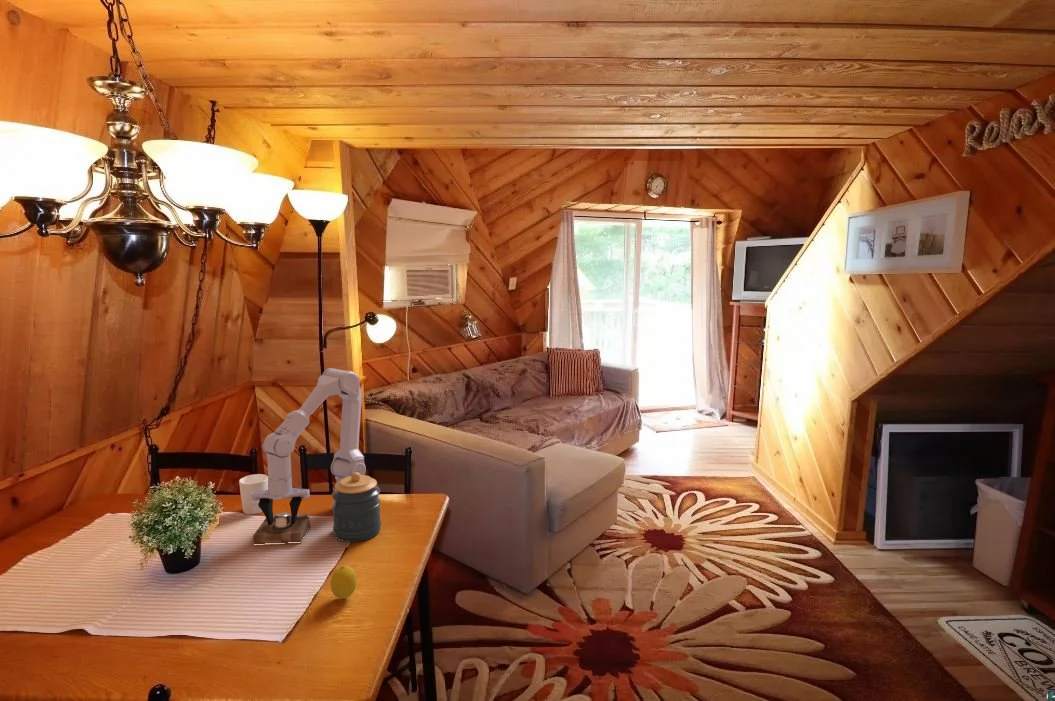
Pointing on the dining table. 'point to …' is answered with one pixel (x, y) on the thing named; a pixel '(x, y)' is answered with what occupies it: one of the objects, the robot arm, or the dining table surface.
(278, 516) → the bushing
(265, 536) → the block
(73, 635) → the dining table surface
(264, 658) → the dining table surface
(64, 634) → the dining table surface
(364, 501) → the canister
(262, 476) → the white cup
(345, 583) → the lemon
